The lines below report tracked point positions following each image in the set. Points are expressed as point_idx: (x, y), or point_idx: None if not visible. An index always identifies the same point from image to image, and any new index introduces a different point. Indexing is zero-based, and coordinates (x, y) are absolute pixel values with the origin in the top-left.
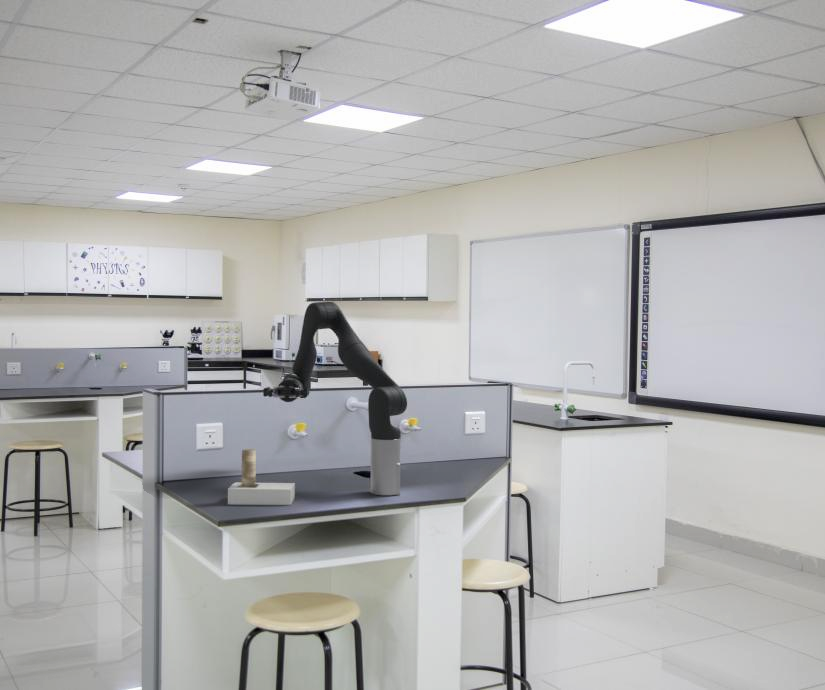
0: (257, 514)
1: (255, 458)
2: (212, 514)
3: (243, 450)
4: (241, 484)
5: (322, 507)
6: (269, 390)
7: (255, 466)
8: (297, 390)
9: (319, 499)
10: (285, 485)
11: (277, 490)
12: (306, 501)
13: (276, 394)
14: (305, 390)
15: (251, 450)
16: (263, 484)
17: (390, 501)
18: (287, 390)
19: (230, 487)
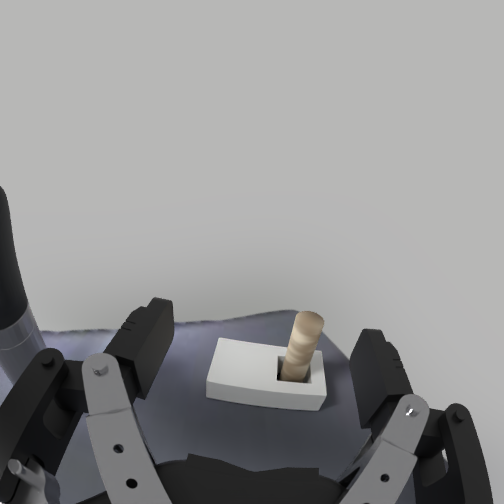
0: (263, 324)
1: (292, 330)
2: None
3: (319, 317)
4: (310, 384)
5: (172, 340)
6: (374, 329)
7: (289, 342)
8: (155, 298)
9: (162, 385)
10: (226, 365)
11: (240, 342)
12: (188, 376)
13: (344, 473)
14: (59, 356)
15: (304, 317)
16: (268, 376)
17: (69, 344)
18: (230, 470)
19: (320, 359)
